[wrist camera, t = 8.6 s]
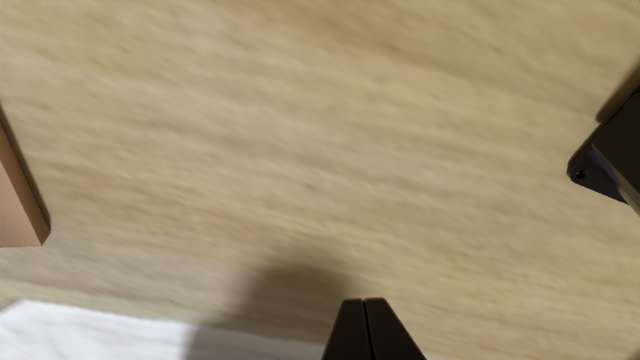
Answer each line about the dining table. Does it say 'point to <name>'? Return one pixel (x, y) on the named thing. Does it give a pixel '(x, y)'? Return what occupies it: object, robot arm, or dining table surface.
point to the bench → (18, 203)
